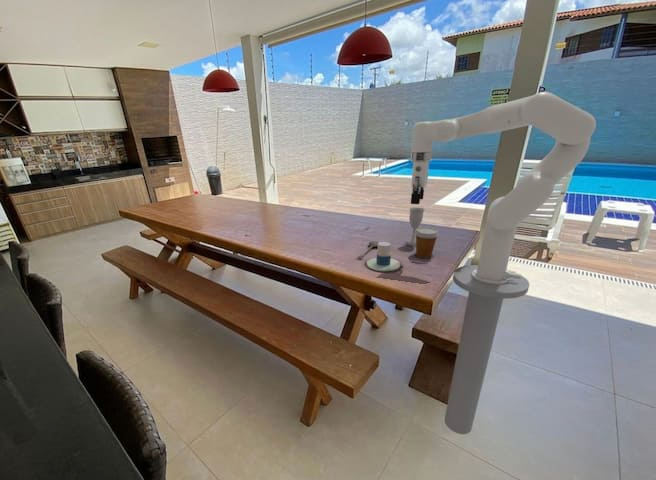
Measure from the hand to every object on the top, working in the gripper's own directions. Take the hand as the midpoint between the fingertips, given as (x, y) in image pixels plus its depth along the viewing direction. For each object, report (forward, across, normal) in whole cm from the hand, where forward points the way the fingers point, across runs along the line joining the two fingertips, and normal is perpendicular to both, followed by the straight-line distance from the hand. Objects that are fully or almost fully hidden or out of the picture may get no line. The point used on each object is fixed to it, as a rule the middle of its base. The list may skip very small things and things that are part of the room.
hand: (417, 201), depth 125 cm
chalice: (+26, +21, +3) cm, 34 cm away
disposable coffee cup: (+26, +8, -4) cm, 28 cm away
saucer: (+26, -9, +10) cm, 29 cm away
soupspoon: (+26, +4, +20) cm, 33 cm away
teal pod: (+25, -9, +10) cm, 29 cm away
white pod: (+21, -9, +10) cm, 25 cm away
